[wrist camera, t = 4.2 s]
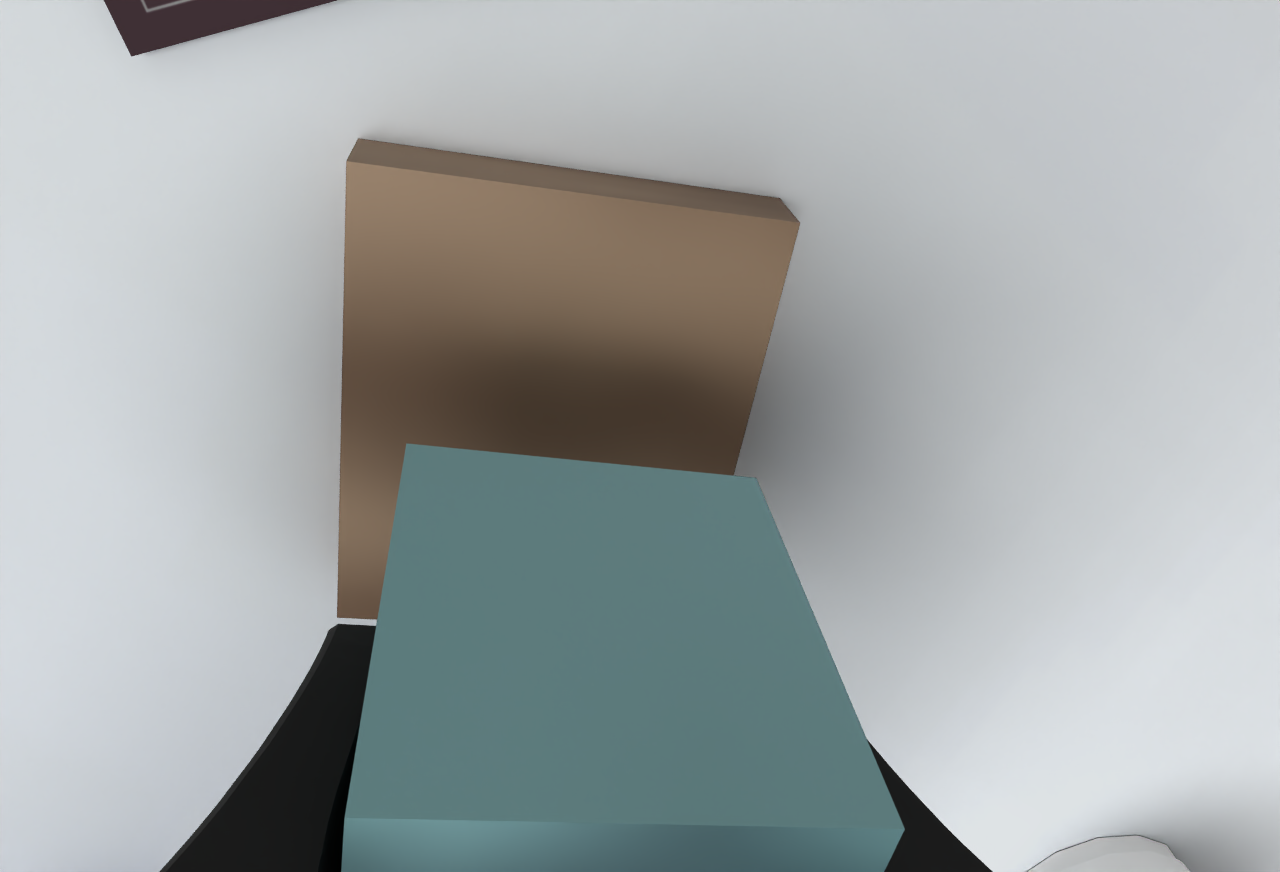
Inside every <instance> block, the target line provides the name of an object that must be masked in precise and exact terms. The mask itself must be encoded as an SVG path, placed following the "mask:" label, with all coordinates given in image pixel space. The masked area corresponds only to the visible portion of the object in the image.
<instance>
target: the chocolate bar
mask: <svg viewBox="0 0 1280 872" xmlns="http://www.w3.org/2000/svg"><path fill="white" fill-rule="evenodd" d="M333 1H336V0H104V2H105V4H106V6H107V8H108V10H109V12H110V14H111V16H112V18H113V20H114V22H115V24H116V26H117V28H118V30H119V32H120V34H121V36H122V38H123V40H124V42H125V44H126V46H127V48H128V50H129V52H130V54H131V56H135V55H139V54H142V53H146V52H150V51H153V50H157V49H161V48H164V47H168V46H172V45H175V44H179V43H183V42H186V41H190V40H194V39H197V38H201V37H205V36H208V35H212V34H215V33H219V32H223V31H226V30H230V29H234V28H237V27H241V26H245V25H248V24H252V23H256V22H259V21H263V20H267V19H270V18H274V17H278V16H281V15H285V14H289V13H292V12H296V11H300V10H303V9H307V8H311V7H314V6H318V5H322V4H325V3H329V2H333Z"/></svg>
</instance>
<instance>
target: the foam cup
mask: <svg viewBox="0 0 1280 872" xmlns="http://www.w3.org/2000/svg"><path fill="white" fill-rule="evenodd" d="M1028 872H1190V871H1189V870H1188V868H1187V867H1186V866H1185V865H1184V864H1183V863H1182V861H1181V860H1177V859H1176V858H1175V857H1174V855H1173V854H1172V852H1171V851H1170V849H1169V848H1168V846H1167V845H1166V844H1162V843H1159V842H1156V841H1153V840H1150V839H1147V838H1144V837H1141V836H1138V835H1135V836H1120V837H1105V838H1096V839H1094V840H1091V841H1088V842H1085V843H1082V844H1079V845H1076V846H1073V847H1070V848H1068V849H1065V850H1062V851H1059V852H1056V853H1055V854H1053V855H1052V856H1050V857H1049V858H1047V859H1046V860H1044V861H1043V862H1041V863H1040V864H1038V865H1037V866H1035V867H1034V868H1032V869H1031V870H1029V871H1028Z"/></svg>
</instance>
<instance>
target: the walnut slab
mask: <svg viewBox="0 0 1280 872" xmlns="http://www.w3.org/2000/svg"><path fill="white" fill-rule="evenodd" d="M799 225H800V222H799V221H798V220H797V219H796V217H795V216H794V215H793V214H792V212H791V211H790V210H789V209H788V208H787V206H786V205H785V204H784V203H783V202H782V200H781V199H780V198H774V197H767V196H760V195H753V194H746V193H739V192H732V191H725V190H718V189H711V188H704V187H697V186H690V185H683V184H676V183H669V182H662V181H654V180H647V179H640V178H633V177H626V176H619V175H612V174H605V173H598V172H591V171H584V170H577V169H570V168H563V167H556V166H549V165H542V164H535V163H528V162H520V161H513V160H506V159H499V158H492V157H485V156H478V155H471V154H464V153H457V152H450V151H443V150H436V149H429V148H422V147H415V146H408V145H401V144H394V143H387V142H379V141H372V140H365V139H358V140H357V142H356V144H355V146H354V148H353V149H352V151H351V153H350V155H349V157H348V159H347V161H346V208H345V257H344V306H343V355H342V404H341V453H340V501H339V550H338V599H337V618H358V619H377V618H378V612H379V606H380V600H381V594H382V588H383V582H384V576H385V570H386V564H387V558H388V552H389V546H390V540H391V534H392V528H393V522H394V516H395V510H396V503H397V497H398V491H399V485H400V479H401V473H402V467H403V461H404V455H405V449H406V443H407V444H417V445H427V446H437V447H447V448H457V449H468V450H478V451H488V452H498V453H508V454H518V455H529V456H539V457H549V458H559V459H569V460H579V461H589V462H600V463H610V464H620V465H630V466H640V467H650V468H661V469H671V470H681V471H691V472H701V473H711V474H721V475H732V476H733V475H734V472H735V468H736V464H737V460H738V456H739V453H740V449H741V445H742V441H743V438H744V434H745V430H746V426H747V422H748V419H749V415H750V411H751V407H752V403H753V400H754V396H755V392H756V388H757V384H758V381H759V377H760V373H761V369H762V366H763V362H764V358H765V354H766V350H767V347H768V343H769V339H770V335H771V331H772V328H773V324H774V320H775V316H776V312H777V309H778V305H779V301H780V297H781V294H782V290H783V286H784V282H785V278H786V275H787V271H788V267H789V263H790V259H791V256H792V252H793V248H794V244H795V240H796V237H797V233H798V229H799Z"/></svg>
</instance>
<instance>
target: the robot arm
mask: <svg viewBox="0 0 1280 872" xmlns="http://www.w3.org/2000/svg"><path fill="white" fill-rule="evenodd" d="M375 631H376V626H367V625H348V624H337V625H336V626H334V627H333V628H331V629H330V630H329V631H328V634H327V636H326V638H325V641H324V643H323V645H322V647H321V649H320V651H319V653H318V655H317V657H316V659H315V661H314V663H313V665H312V667H311V668H310V670H309V672H308V674H307V675H306V677H305V679H304V681H303V682H302V684H301V686H300V687H299V689H298V691H297V692H296V694H295V696H294V697H293V699H292V701H291V702H290V704H289V705H288V707H287V708H286V710H285V711H284V713H283V714H282V716H281V717H280V719H279V720H278V722H277V723H276V725H275V726H274V728H273V729H272V731H271V732H270V734H269V735H268V737H267V738H266V740H265V741H264V743H263V744H262V746H261V747H260V748H259V750H258V751H257V753H256V754H255V755H254V757H253V758H252V760H251V761H250V762H249V763H248V765H247V766H246V767H245V769H244V770H243V771H242V773H241V774H240V775H239V777H238V778H237V779H236V781H235V782H234V783H233V785H232V786H231V787H230V788H229V790H228V791H227V792H226V794H225V795H224V796H223V798H222V799H221V800H220V802H219V803H218V804H217V805H216V807H215V808H214V809H213V810H212V812H211V813H210V814H209V815H208V816H207V818H206V819H205V820H204V821H203V823H202V824H201V825H200V826H199V827H198V829H197V830H196V831H195V832H194V833H193V834H192V836H191V837H190V838H189V839H188V840H187V841H186V843H185V844H184V845H183V846H182V847H181V848H180V849H179V850H178V852H177V853H176V854H175V855H174V856H173V857H172V858H171V860H170V861H169V862H168V863H167V864H166V865H165V866H164V867H163V868H162V870H161V871H160V872H341V867H342V851H343V835H344V819H345V812H346V806H347V800H348V794H349V788H350V782H351V776H352V770H353V764H354V758H355V752H356V746H357V740H358V734H359V727H360V721H361V715H362V709H363V703H364V697H365V691H366V685H367V679H368V673H369V667H370V661H371V655H372V649H373V643H374V637H375ZM867 741H868V740H867ZM868 743H869V746H870V748H871V750H872V753H873V755H874V758H875V760H876V762H877V765H878V767H879V769H880V772H881V774H882V776H883V779H884V781H885V784H886V786H887V788H888V791H889V793H890V795H891V798H892V800H893V802H894V805H895V807H896V809H897V812H898V814H899V817H900V819H901V821H902V824H903V826H904V828H905V830H904V832H903V834H902V836H901V838H900V840H899V842H898V844H897V846H896V848H895V850H894V852H893V855H892V857H891V859H890V861H889V863H888V865H887V867H886V869H885V871H884V872H992V871H991V870H990V869H989V868H988V867H987V866H986V865H985V864H984V863H983V862H982V861H981V860H979V859H978V858H977V857H976V856H975V855H974V854H973V853H972V852H971V851H970V850H969V849H968V848H967V847H966V846H964V845H963V844H962V843H961V842H960V841H959V840H958V839H957V838H956V837H955V836H954V835H953V834H952V833H951V832H950V831H949V830H948V829H947V828H946V827H945V826H944V825H943V824H942V823H941V822H940V820H939V819H938V818H937V817H936V816H935V815H934V814H933V813H932V812H931V811H930V810H929V809H928V808H927V807H926V806H925V805H924V803H923V802H922V801H921V800H920V799H919V798H918V797H917V796H916V795H915V794H914V793H913V792H912V791H911V790H910V789H909V787H908V786H907V785H906V784H905V783H904V782H903V781H902V780H901V778H900V777H899V776H898V775H897V774H896V773H895V772H894V771H893V769H892V768H891V767H890V766H889V765H888V764H887V762H886V761H885V760H884V759H883V758H882V757H881V755H880V754H879V753H878V752H877V751H876V749H875V748H874V747H873V746H872V745H871V744H870V742H869V741H868Z"/></svg>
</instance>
